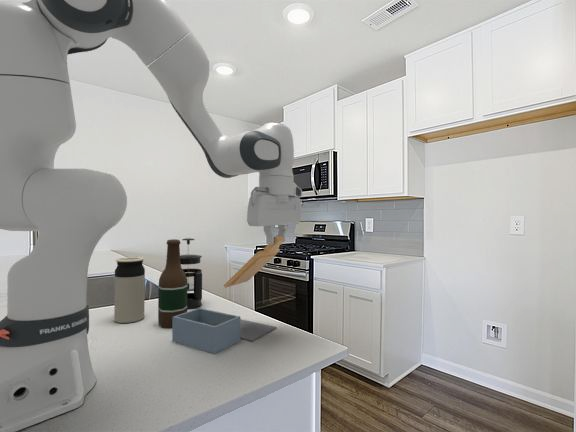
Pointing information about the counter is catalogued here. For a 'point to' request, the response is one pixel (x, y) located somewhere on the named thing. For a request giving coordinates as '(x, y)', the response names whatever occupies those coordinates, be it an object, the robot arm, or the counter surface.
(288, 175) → the robot arm
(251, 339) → the mat
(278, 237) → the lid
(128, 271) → the travel mug
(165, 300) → the beer bottle
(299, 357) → the counter surface
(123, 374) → the counter surface
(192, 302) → the french press
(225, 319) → the tub
